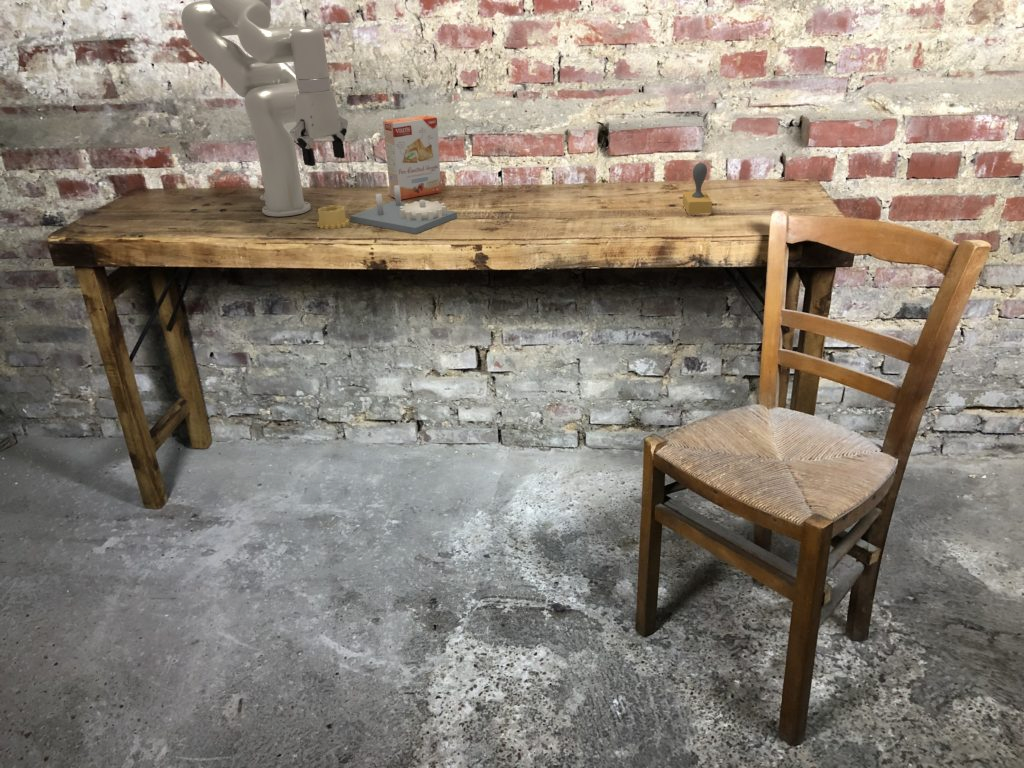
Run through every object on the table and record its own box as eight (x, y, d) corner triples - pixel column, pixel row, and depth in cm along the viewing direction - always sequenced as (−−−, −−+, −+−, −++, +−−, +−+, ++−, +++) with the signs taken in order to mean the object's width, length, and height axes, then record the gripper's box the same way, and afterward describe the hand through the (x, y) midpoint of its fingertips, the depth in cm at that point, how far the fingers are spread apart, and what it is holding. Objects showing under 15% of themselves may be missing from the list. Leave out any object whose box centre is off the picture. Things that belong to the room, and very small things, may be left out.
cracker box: (399, 201, 210) (392, 122, 201) (389, 197, 215) (381, 119, 205) (443, 192, 218) (437, 116, 208) (432, 188, 222) (426, 113, 212)
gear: (310, 226, 191) (308, 210, 189) (334, 218, 197) (331, 203, 195) (332, 230, 187) (330, 214, 185) (356, 222, 193) (354, 207, 191)
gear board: (350, 221, 194) (347, 196, 191) (393, 206, 205) (390, 182, 202) (415, 234, 183) (413, 207, 180) (457, 217, 194) (455, 192, 191)
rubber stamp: (711, 216, 189) (716, 167, 183) (687, 216, 189) (691, 167, 184) (704, 205, 198) (708, 158, 192) (682, 205, 198) (685, 158, 192)
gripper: (330, 81, 185) (340, 153, 193) (273, 90, 172) (286, 167, 180) (352, 82, 181) (361, 156, 189) (296, 91, 168) (308, 170, 176)
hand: (325, 161), depth 185 cm, fingers open, 9 cm apart
